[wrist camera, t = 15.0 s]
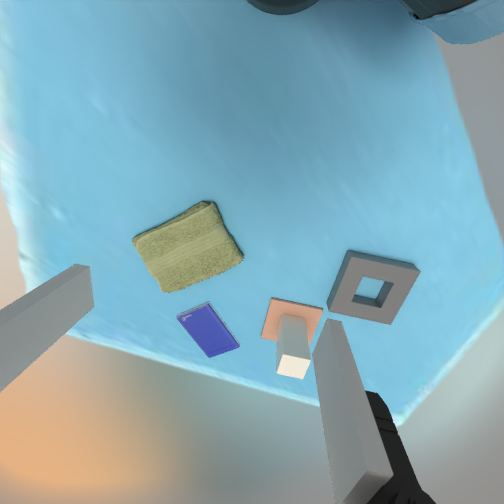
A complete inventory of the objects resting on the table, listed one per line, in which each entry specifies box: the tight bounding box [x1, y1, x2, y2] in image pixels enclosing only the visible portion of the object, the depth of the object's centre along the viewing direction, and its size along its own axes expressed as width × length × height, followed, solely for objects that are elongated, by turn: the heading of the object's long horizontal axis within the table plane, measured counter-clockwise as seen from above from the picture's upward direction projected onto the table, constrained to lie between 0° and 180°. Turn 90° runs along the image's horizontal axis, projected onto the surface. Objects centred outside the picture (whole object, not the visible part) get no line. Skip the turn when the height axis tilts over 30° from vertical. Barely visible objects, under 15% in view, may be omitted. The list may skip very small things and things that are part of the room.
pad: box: [261, 297, 323, 345], centre depth 49 cm, size 10×10×1 cm
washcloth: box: [132, 202, 243, 293], centre depth 44 cm, size 13×18×3 cm
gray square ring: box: [327, 250, 421, 325], centre depth 43 cm, size 11×11×2 cm
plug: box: [276, 314, 311, 379], centre depth 44 cm, size 4×4×10 cm
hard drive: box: [176, 302, 240, 358], centre depth 52 cm, size 2×8×12 cm
